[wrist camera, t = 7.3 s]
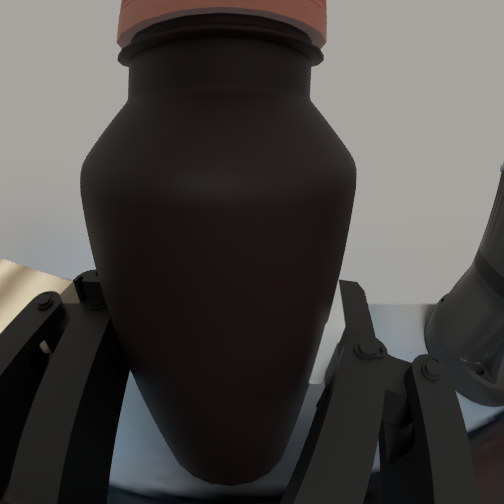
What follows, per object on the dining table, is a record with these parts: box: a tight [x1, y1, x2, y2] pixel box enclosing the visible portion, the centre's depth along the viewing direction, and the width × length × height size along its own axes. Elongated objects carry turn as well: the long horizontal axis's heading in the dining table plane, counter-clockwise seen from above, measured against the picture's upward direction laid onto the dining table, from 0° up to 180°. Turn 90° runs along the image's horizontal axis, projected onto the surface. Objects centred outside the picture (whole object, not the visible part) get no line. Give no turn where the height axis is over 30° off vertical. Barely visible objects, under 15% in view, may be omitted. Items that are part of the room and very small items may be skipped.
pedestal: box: [0, 259, 80, 351], centre depth 15 cm, size 11×11×6 cm
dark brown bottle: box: [80, 0, 356, 486], centre depth 9 cm, size 7×7×20 cm
